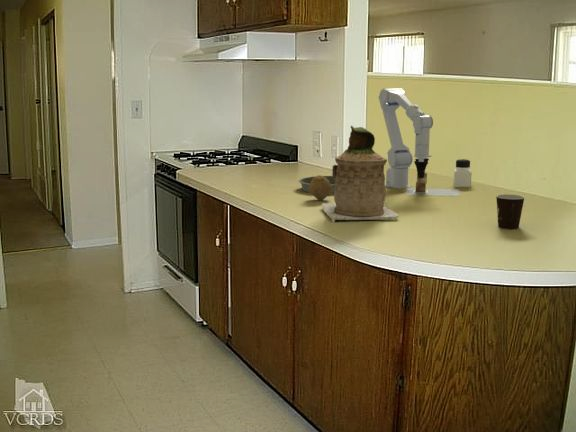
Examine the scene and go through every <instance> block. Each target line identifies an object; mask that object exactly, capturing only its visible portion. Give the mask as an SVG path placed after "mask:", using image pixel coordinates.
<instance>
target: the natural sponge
mask: <svg viewBox="0 0 576 432" xmlns="http://www.w3.org/2000/svg"><path fill="white" fill-rule="evenodd" d="M324 176H325V175H320V174H319V175H316V177H314V178H313V179H312V181H311V183H310V186H309V190H310V192H311V193H310V192H309V193H310V194H312V196H313V197H314V198H315V199H317V200H318V201H323V200H325V199H326V198H327V197H329V196H330V195H332V194H331V193H332V187H331V184H330V182H329V180H328V179H327V178H326V177H324Z"/></svg>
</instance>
